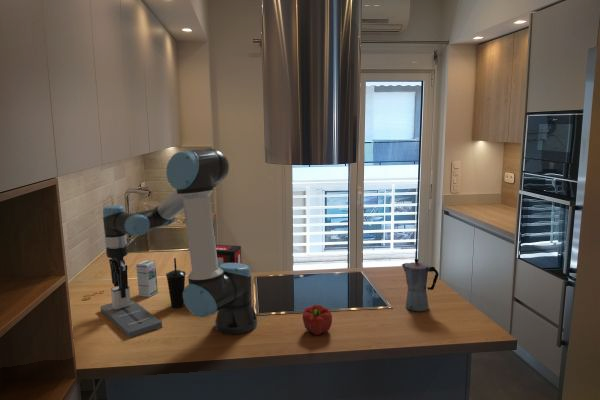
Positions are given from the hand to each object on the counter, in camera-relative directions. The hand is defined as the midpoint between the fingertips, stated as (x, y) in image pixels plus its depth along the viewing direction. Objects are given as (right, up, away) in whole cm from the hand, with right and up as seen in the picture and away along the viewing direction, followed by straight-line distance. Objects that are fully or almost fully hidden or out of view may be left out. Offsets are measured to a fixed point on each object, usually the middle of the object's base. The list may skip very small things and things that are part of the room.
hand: (121, 303), depth 172 cm
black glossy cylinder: (+20, -3, +6) cm, 21 cm away
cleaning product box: (+36, 0, +21) cm, 41 cm away
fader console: (+6, -5, -6) cm, 9 cm away
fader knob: (0, -1, 0) cm, 1 cm away
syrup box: (+4, -1, +18) cm, 19 cm away
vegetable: (+76, -6, -18) cm, 79 cm away
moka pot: (+117, -2, +2) cm, 117 cm away
